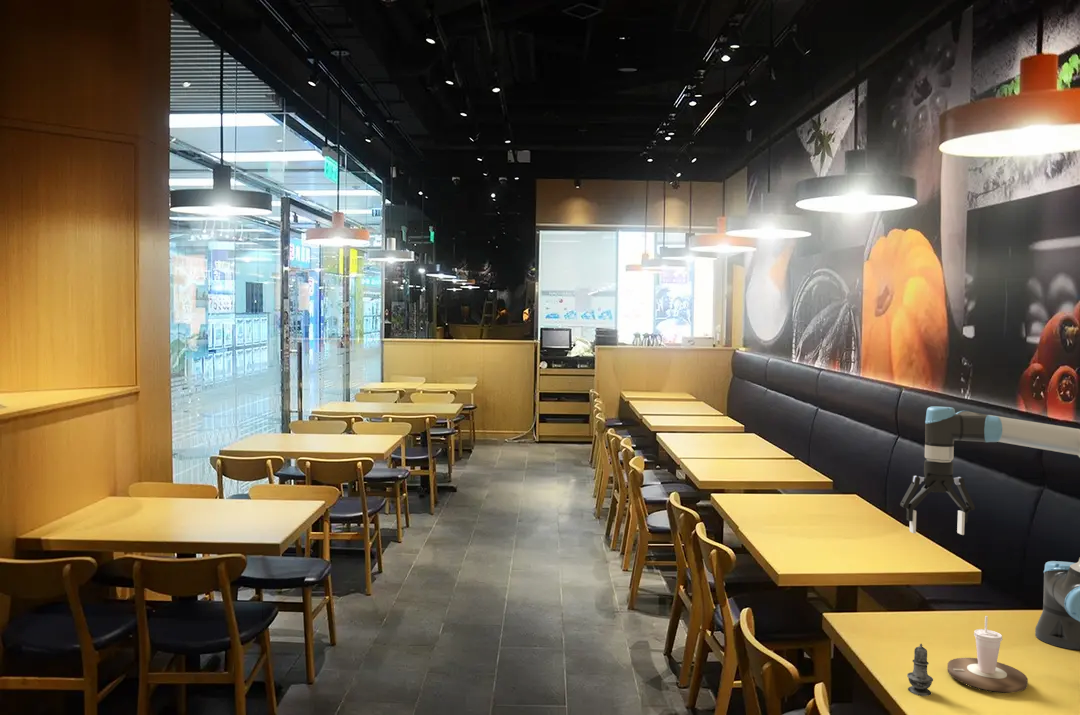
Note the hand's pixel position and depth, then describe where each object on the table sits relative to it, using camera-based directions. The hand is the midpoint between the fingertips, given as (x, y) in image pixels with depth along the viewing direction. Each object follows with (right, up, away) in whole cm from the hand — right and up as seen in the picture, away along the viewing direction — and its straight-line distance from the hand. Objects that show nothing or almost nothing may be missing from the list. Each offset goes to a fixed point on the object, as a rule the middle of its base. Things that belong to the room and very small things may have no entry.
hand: (936, 533), depth 233 cm
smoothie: (0, -30, -26) cm, 40 cm away
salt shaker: (-21, -32, -33) cm, 51 cm away
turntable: (0, -31, -26) cm, 41 cm away
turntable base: (0, -32, -26) cm, 42 cm away
